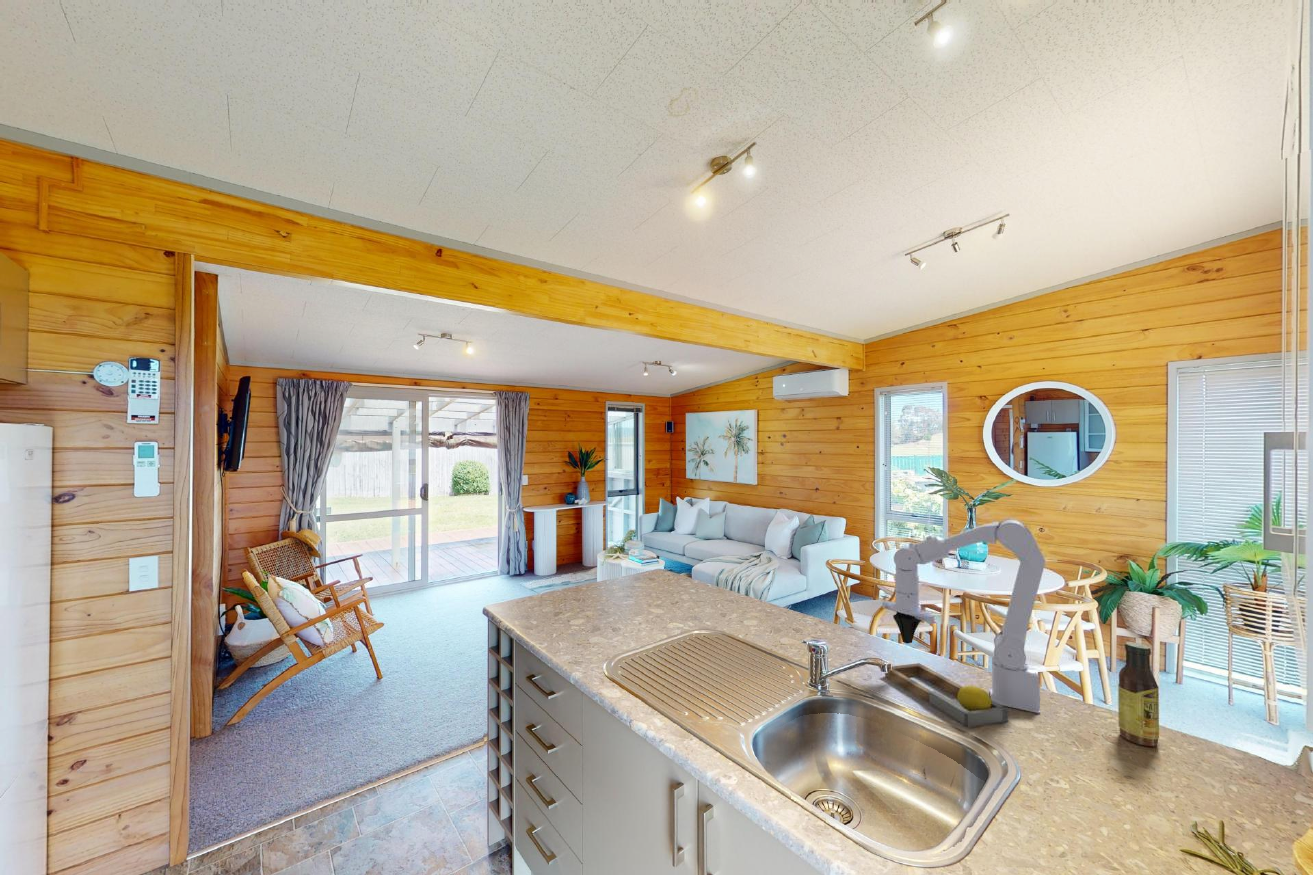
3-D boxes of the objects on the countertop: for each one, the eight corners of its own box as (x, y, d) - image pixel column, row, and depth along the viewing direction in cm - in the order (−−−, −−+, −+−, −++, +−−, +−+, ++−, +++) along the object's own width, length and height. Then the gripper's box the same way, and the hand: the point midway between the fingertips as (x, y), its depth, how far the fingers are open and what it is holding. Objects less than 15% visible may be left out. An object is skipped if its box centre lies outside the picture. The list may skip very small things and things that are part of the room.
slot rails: (885, 676, 137) (885, 667, 137) (919, 672, 139) (919, 663, 139) (929, 704, 122) (929, 693, 122) (966, 698, 124) (966, 688, 124)
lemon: (961, 716, 119) (994, 720, 112) (946, 697, 119) (979, 700, 112) (968, 697, 122) (1001, 700, 115) (954, 679, 122) (986, 681, 116)
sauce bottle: (1151, 751, 103) (1149, 653, 103) (1113, 736, 108) (1111, 642, 109) (1165, 743, 106) (1163, 647, 106) (1126, 728, 111) (1125, 637, 112)
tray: (929, 704, 122) (929, 691, 122) (966, 698, 124) (966, 686, 124) (968, 728, 111) (968, 714, 111) (1007, 721, 114) (1007, 708, 114)
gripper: (941, 596, 132) (942, 649, 132) (894, 583, 145) (894, 631, 145) (923, 600, 129) (924, 653, 128) (876, 586, 142) (877, 635, 142)
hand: (907, 642), depth 136 cm, fingers closed
